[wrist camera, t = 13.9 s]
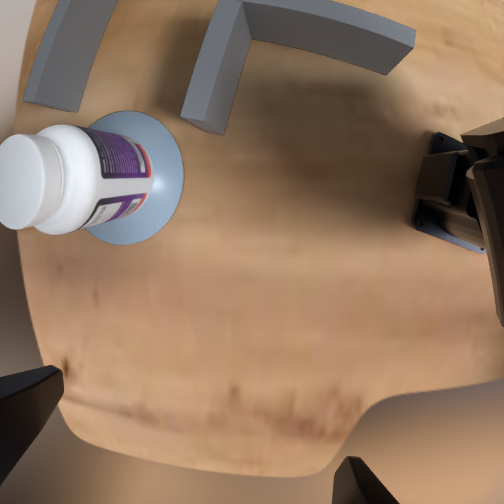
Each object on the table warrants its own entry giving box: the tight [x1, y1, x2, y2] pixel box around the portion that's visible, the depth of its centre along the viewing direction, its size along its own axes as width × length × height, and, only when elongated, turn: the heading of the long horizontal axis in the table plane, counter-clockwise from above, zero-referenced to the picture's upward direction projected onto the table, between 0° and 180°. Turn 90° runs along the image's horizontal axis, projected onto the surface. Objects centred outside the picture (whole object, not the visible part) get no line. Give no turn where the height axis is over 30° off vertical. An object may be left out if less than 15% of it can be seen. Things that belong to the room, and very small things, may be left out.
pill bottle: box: [0, 124, 154, 235], centre depth 15 cm, size 5×5×10 cm
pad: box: [85, 111, 184, 245], centre depth 20 cm, size 9×9×1 cm
